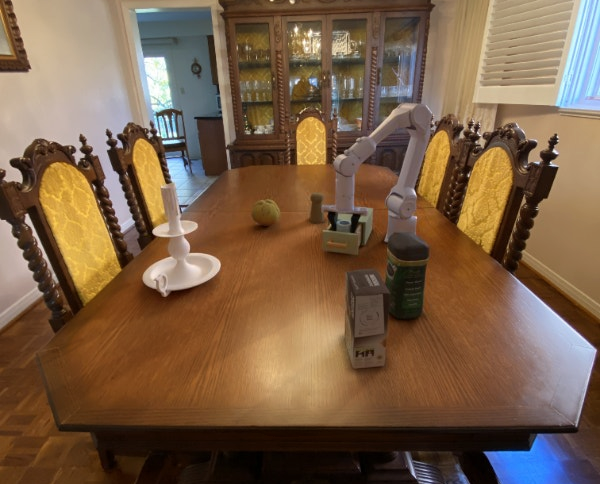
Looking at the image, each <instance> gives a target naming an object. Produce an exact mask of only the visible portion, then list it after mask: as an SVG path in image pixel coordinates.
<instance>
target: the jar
mask: <svg viewBox="0 0 600 484" xmlns="http://www.w3.org/2000/svg"><path fill="white" fill-rule="evenodd" d="M336 231H338V232H346V233H351V221H348V220H339V221H337V222H336Z"/></svg>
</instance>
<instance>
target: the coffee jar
mask: <svg viewBox="0 0 600 484" xmlns="http://www.w3.org/2000/svg"><path fill="white" fill-rule="evenodd" d="M429 260H430V245H429V244H428V243H427V242H426V241H425V240H424V239H423V238H421V237H420V236H418V235H417V234H416V235H415V234H413V233H411V232H410V231H405V232H394V233H393V234H392V235H391V236H390V237H389V239H388V243H387V244H386V270H385V280H384V283H385V285H386V287H387V288H388V290H389V292H390V302H389V314H390V315H392V317H394V318H396V319H402V320H413V319H417V318H419V317H421V316H422V314H423V309H424V298H425V297H424V296H425V283H426V275H427V274H426V273H427V267H428V263H429Z"/></svg>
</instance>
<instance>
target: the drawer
mask: <svg viewBox="0 0 600 484" xmlns="http://www.w3.org/2000/svg"><path fill="white" fill-rule="evenodd" d="M362 239H363V224H357V226H356V229H355V233H346V232H338V231H333V229H332V226H331V224H330V225H329V226H328V225H327V228H326V229H322V230H321V251H325V252H332V253H339V254H348V255H354V256H358V255H359V247H360V246H361V245H360V243H361V241H362Z"/></svg>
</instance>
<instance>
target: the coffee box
mask: <svg viewBox="0 0 600 484" xmlns="http://www.w3.org/2000/svg"><path fill="white" fill-rule="evenodd" d="M344 285H345V286H344V287H345V288H344V289H345V291H344V294H345V295H344V337H343V338H344V342H345V345H346V350H347V352H348V356H349V359H350V363H351V366H352V369H366V368H376V367H377V368H378V367H384V366H385V363H386V352H387V337H388V327H389V314H390V312H389V302H390V292H389V290H388V288H387V287H386V285H385V281H384V280H383V279H382V277H381V275H380V273H379V271H378V270H377V269H376V268H366V269H364V268H363V269H355V270H346V271H345V284H344Z"/></svg>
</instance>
